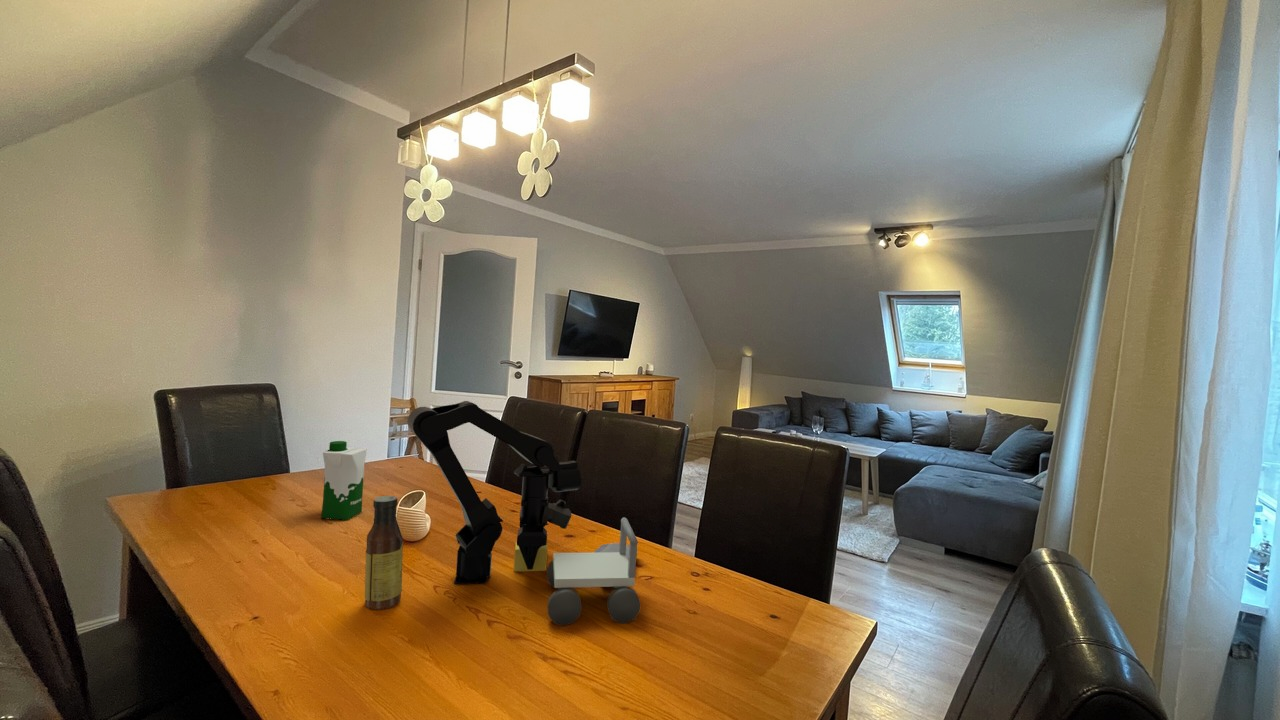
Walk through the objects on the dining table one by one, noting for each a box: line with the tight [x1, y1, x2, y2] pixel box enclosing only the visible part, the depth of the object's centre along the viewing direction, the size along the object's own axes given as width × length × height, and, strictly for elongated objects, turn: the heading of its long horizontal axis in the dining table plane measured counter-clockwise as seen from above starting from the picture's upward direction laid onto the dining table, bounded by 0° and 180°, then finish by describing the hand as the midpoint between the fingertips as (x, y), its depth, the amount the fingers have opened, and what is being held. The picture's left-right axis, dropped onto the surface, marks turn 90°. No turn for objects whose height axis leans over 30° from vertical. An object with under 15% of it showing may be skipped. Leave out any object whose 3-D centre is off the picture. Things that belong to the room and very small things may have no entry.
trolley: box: [546, 517, 641, 626], centre depth 102 cm, size 17×16×15 cm
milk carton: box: [320, 440, 368, 521], centre depth 140 cm, size 9×9×20 cm
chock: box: [513, 541, 548, 572], centre depth 116 cm, size 7×4×5 cm, turn 101°
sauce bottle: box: [364, 495, 404, 611], centre depth 96 cm, size 6×6×20 cm
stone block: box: [593, 542, 638, 562], centre depth 121 cm, size 12×5×10 cm
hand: (530, 562), depth 116 cm, fingers open, 7 cm apart
